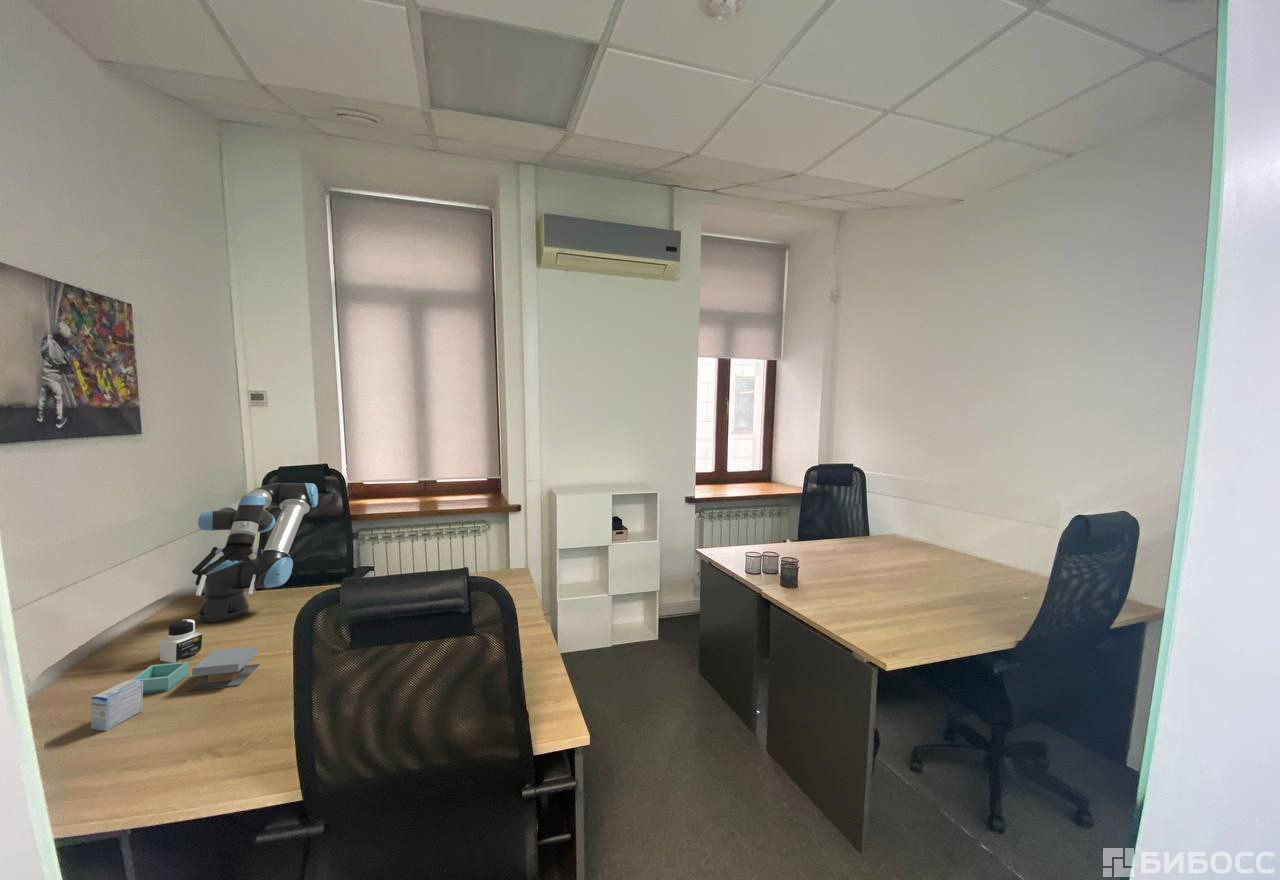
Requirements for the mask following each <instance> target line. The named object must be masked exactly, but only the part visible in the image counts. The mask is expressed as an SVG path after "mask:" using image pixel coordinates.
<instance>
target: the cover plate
mask: <svg viewBox="0 0 1280 880" xmlns="http://www.w3.org/2000/svg"><path fill="white" fill-rule="evenodd" d="M257 654H258V646H244V647H233V648H232V647H231V648H224V649H223V648H222V649H214V650H213V651H212V652H211V653H210V654H208V656H206V657H205V658H203V659H202V660H201V661H200V662H198V663H196V665H194V666H193V667H192V672H191V673H192V675H191V676H192V677H197V676H205V675H210V674H220V673H230V672H238V671H239V670H240V669H242V668H243V667H244V666H245V665H248V663H249V662H250V661H251V660H252V659H253V658H254V657H255V656H256V655H257Z"/></svg>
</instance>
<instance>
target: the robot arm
mask: <svg viewBox="0 0 1280 880" xmlns="http://www.w3.org/2000/svg"><path fill="white" fill-rule="evenodd" d="M318 491H319V490H318V487H317V485H316V484H315V483H313V482H312V483H310V482H309V483H308V482H304V483H302V482H301V483H297V482H296V483H295V482H275V483H270V484H267V485H263V486H259V487H256V488H255V489H253V490H251V491H249V492H247V494H245V495H243V496H241V498H240V499H238V500H236V501H234V502H231V503H230V504H228V505H226V506H225V507H224V506H223V507H222V508H220V509H218V510H212V509H211V510H205V511H203V512H201V513H200V514H199V517H198V520H197V524H198V527H199V530H201V531H210V532H211V531H212V532H213V531H229V535H228V537H227V540H226V543H225V546H224V547H222V548H221V547H217V546H213V547H212V549H211V551H210V552H209V553H208V555H207V556H205V557H204V558H203V559H202V560H201V561H200V562H199V563H198V564H197V565H196V566H195V567H194V568H193V569H192V570H191V573H192V574H193V575H195V576H197V577H196V580H195V586H197V589H196V593H195V596H196V597H201V595H202V591H203V589H204V600H203V602H202V604H201V607H200V608H199V611H198V614H197V621H198V622H199V623H203V624H204V623H206V624H207V623H208V624H209V623H211V624H212V623H213V624H214V623H220V622H221V623H222V622H227V621H230V620H234V618H235V619H237V618H240V617H242V615H243V616H244V614H245V615H246V614H247V612H248V611H250V604H249V601H248V599H247V596H246V594H245V589H247V590H248V593H247V594H248V596H252V594H253V592H254V589H261V588H262V589H263V588H267V589H270V588H274V587H275V588H276V587H280V586H283V585H284V584H286V582H287V581H288V580H289V579H290V577H291V575H292V572H293V571H292V570H293V567H294V561H293V559H292V558H291V556H290V554H289V552H290V549H291V547H292V545H293V543H294V540H295V537H296V534H297V532H298V529H299V527H300V524H301V523H302V520H303V517H304V515H306V514H307V513H309V512H310V510H311V508H316V507H317V506H318V503H319V492H318ZM267 508H279V509H280V510H281V511H280V513H279V515H278V518H277V520H276V518H275V517H274V515H273V514H272V513H270V512H269V511H268V509H267ZM270 530H271V532H270V533H271V534H270V535H269V538H268V540H267V542H266V544H265V547H264V549H263V548H262V547H258V548H253V546H254V543H255V540H256V535H257V534H258V533H266V532H269V531H270ZM220 553H222V554H223V555H222V556H220V557H219V558H217V559H214V558H215V557H216V555H219V554H220ZM252 554H255V555H256V556H255V558H250V557H249V556H251V555H252ZM213 559H214V560H213ZM248 613H249V612H248Z"/></svg>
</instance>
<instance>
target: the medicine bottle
mask: <svg viewBox="0 0 1280 880" xmlns="http://www.w3.org/2000/svg"><path fill="white" fill-rule="evenodd" d="M202 645H203V633H202V632H197V631H196V621H195V620H194V619H189V618H188V619H180V620H177V621H174V622H172V623H171V624H169V625H168V636H166V637H164V638H161V640H160V646H159V647H160V648H159V649H160V651H159V653H160V654H159V655H160V656H159V658H160V659H159V661H160V662H165V663H168V664H170V663H181V662H186V661H187V660H189V659H192V658H195V657H196V656H199V655H201V654H202Z"/></svg>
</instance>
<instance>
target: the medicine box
mask: <svg viewBox="0 0 1280 880" xmlns="http://www.w3.org/2000/svg"><path fill="white" fill-rule="evenodd" d="M142 711H143V681H136V680H131V679H126V680H125V681H123V682H121V683H118V684H116V685H114V686H111V687H110V688H108V689H106V690H104V691H102V692H99V693H97V694H95V695H93V696H92V697H91V712H90V713H91V716H90V717H91V719H90V720H91V721H90V730H92V729H95V731H102V730H103V731H104V732H105V731H106V732H107V731H109V730H111V729H112V728H114V727H116V726H117V725H119V724H122V723H123V722H125V721H127V720H129V719H131V718H132V717H134V716H135V715H137V714H140V713H141V712H142Z"/></svg>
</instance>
